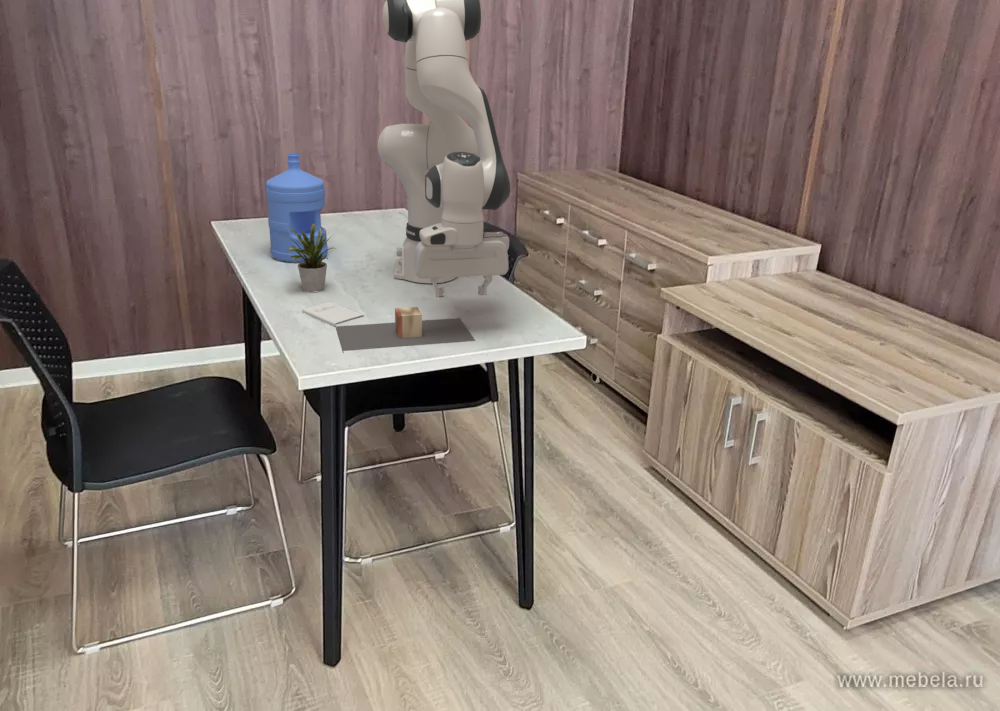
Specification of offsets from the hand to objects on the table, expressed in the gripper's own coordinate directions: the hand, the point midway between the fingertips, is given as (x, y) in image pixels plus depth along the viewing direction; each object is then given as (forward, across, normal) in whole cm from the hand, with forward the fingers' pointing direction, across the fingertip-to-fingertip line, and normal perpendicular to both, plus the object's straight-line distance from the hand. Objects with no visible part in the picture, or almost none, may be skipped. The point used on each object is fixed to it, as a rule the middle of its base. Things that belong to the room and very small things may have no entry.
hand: (461, 295), depth 177 cm
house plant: (+8, +29, -38) cm, 48 cm away
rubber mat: (+9, +12, -1) cm, 15 cm away
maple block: (+6, +9, -1) cm, 11 cm away
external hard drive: (+9, +26, -16) cm, 32 cm away
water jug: (+8, +31, -67) cm, 74 cm away
